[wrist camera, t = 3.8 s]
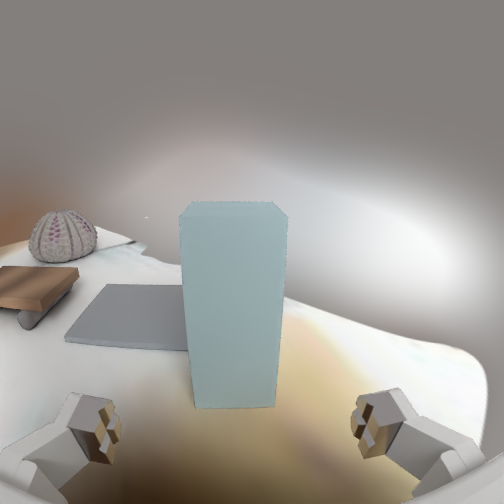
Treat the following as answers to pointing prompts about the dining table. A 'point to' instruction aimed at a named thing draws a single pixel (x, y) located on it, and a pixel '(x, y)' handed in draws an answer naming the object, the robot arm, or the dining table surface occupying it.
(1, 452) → the robot arm
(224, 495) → the dining table surface
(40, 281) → the walnut slab on rollers
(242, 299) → the teal-grey block
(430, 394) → the dining table surface
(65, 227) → the sea urchin shell
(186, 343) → the grey tile
